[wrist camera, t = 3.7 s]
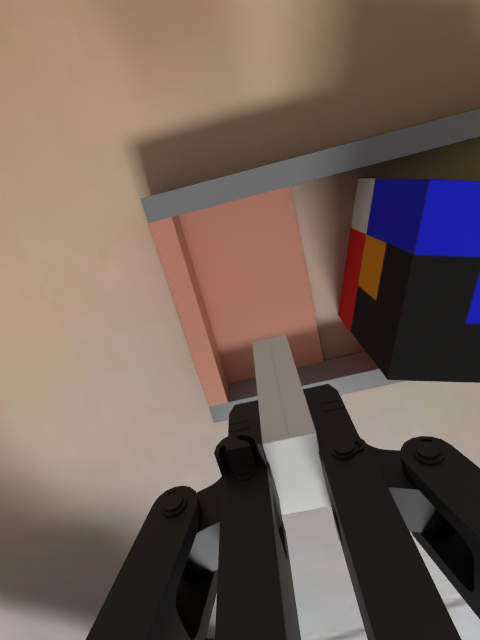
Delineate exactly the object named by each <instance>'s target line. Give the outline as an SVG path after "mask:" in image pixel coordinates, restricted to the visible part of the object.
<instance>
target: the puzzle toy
mask: <svg viewBox="0 0 480 640" xmlns="http://www.w3.org/2000/svg"><path fill="white" fill-rule="evenodd" d="M338 315H339V317H340V318H341V319H342V321H343V322H344V323H345V325H346V326H347V327H348V329H349V330H350V331H351V333H352V334H353V335H354V336H355V338H356V339H357V340H358V342H359V343H360V344H361V346H362V347H363V348H364V350H365V351H366V352H367V353H368V355H369V356H370V357H371V359H372V360H373V361H374V363H375V364H376V365H377V367H378V368H379V369H380V371H381V372H382V373H383V374H384V376H385V377H386V378H387V380H409V381H444V382H480V181H463V180H441V179H382V178H358V183H357V190H356V197H355V204H354V211H353V217H352V224H351V231H350V238H349V245H348V252H347V259H346V266H345V273H344V279H343V286H342V293H341V300H340V307H339V314H338Z"/></svg>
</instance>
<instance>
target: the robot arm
mask: <svg viewBox="0 0 480 640" xmlns="http://www.w3.org/2000/svg"><path fill="white" fill-rule="evenodd" d="M252 344H253V354H254V365H255V375H256V385H257V395H258V400H255V401H250V402H246V403H241V404H236V405H234V407H233V408H232V410H231V412H230V414H229V430H228V432H229V434H228V436H227V437H226V438H224V439H223V440H221V442H220V443H219V444H218V445H217V446H216V449H215V452H214V454H215V457H216V460H217V463H218V466H219V469H220V472H221V474H222V477H221V478H220V479H219V480H218V481H217V482H216V483H214V484H213V485H211V486H209V487H208V488H205V489H203V490H201V491H199V492H197V493H196V491H194V490H193V489H192V488H191V487H187V486H179V487H174V488H172V489H169V490H167V491H165V492H164V493H163V494H162V495H161V496H159V497H158V498H157V500H156V501H155V503H154V504H153V506H152V508H151V510H150V512H149V514H148V516H147V518H146V520H145V522H144V524H143V526H142V528H141V530H140V532H139V534H138V536H137V538H136V540H135V542H134V544H133V546H132V548H131V550H130V552H129V554H128V556H127V558H126V560H125V562H124V564H123V566H122V568H121V570H120V572H119V574H118V576H117V578H116V580H115V582H114V584H113V586H112V588H111V590H110V592H109V594H108V596H107V598H106V600H105V602H104V604H103V606H102V608H101V610H100V612H99V614H98V616H97V618H96V620H95V622H94V624H93V626H92V628H91V630H90V632H89V634H88V636H87V638H86V640H205V637H206V633H207V629H208V625H209V621H210V617H211V613H212V609H213V605H214V602H215V598H216V594H217V606H216V631H215V640H301V637H300V630H299V623H298V616H297V609H296V602H295V595H294V588H293V581H292V574H291V567H290V560H289V553H288V546H287V539H286V532H285V528H284V524H283V521H282V515H284V514H289V513H295V512H300V511H305V510H310V509H316V508H321V507H326V506H331V507H332V511H333V515H334V520H335V525H336V530H337V534H338V539H339V540H340V542H341V546H342V549H343V553H344V556H345V560H346V563H347V567H348V570H349V574H350V578H351V581H352V585H353V588H354V592H355V595H356V599H357V602H358V606H359V610H360V613H361V617H362V620H363V624H364V627H365V631H366V634H367V638H368V640H461V638H460V636H459V634H458V632H457V630H456V628H455V626H454V624H453V621H452V619H451V617H450V615H449V613H448V611H447V609H446V607H445V605H444V603H443V601H442V599H441V596H440V594H439V592H438V590H437V588H436V586H435V584H434V582H433V580H432V578H431V576H430V574H429V571H428V569H427V567H426V565H425V563H424V561H423V559H422V557H421V555H420V553H419V551H418V549H417V546H416V544H415V542H414V540H413V538H412V536H411V534H410V532H409V531H411V532H412V534H413V536H414V537H415V538H416V540H417V541H418V542H419V543H420V545H421V546H422V547H423V548H424V550H425V551H426V552H427V553H428V555H429V556H430V557H431V559H432V560H433V561H434V562H435V564H436V565H437V566H438V567H439V569H440V570H441V571H442V572H443V574H444V575H445V576H446V577H447V579H448V580H449V581H450V582H451V584H452V585H453V586H454V587H455V589H456V590H457V591H458V592H459V594H460V595H461V596H462V597H463V599H464V600H465V601H466V602H467V604H468V605H469V606H470V608H471V609H472V610H473V611H474V613H475V614H476V615H477V616H478V618H479V619H480V468H479V467H478V466H476V465H475V464H474V463H473V462H471V461H470V460H469V459H468V458H466V457H465V456H464V455H463V454H461V453H460V452H459V451H458V450H457V449H455V448H454V447H453V446H452V445H450V444H448V443H447V442H445V441H443V440H441V439H438V438H434V437H425V436H420V437H416V438H412V439H410V440H408V441H407V442H405V443H404V444H403V446H402V448H401V451H395V450H382V449H378V448H374V447H372V446H370V445H368V444H366V443H365V441H364V440H363V439H361V438H360V437H359V435H358V433H357V431H356V429H355V427H354V425H353V422H352V420H351V418H350V416H349V414H348V412H347V410H346V408H345V405H344V403H343V401H342V399H341V397H340V395H339V392H338V390H336V389H335V388H334V387H332V386H331V385H329V384H324V385H320V386H315V387H310V388H306V389H302V386H301V382H300V379H299V376H298V373H297V369H296V366H295V363H294V360H293V356H292V353H291V350H290V347H289V344H288V340H287V337H286V335H283V336H278V337H274V338H270V339H265V340H261V341H256V342H252ZM281 512H282V515H281Z"/></svg>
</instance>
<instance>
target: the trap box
mask: <svg viewBox="0 0 480 640" xmlns="http://www.w3.org/2000/svg"><path fill="white" fill-rule="evenodd" d="M476 137H480V108H479V109H475V110H472V111H468V112H464V113H460V114H457V115H453V116H449V117H445V118H442V119H438V120H434V121H430V122H427V123H423V124H419V125H415V126H412V127H408V128H404V129H400V130H397V131H393V132H389V133H385V134H382V135H378V136H374V137H370V138H367V139H363V140H359V141H355V142H352V143H348V144H344V145H340V146H337V147H333V148H329V149H325V150H322V151H318V152H314V153H310V154H307V155H303V156H299V157H295V158H292V159H288V160H284V161H280V162H276V163H273V164H269V165H265V166H261V167H258V168H254V169H250V170H246V171H243V172H239V173H235V174H231V175H228V176H224V177H220V178H216V179H213V180H209V181H205V182H201V183H198V184H194V185H190V186H186V187H183V188H179V189H175V190H171V191H168V192H164V193H160V194H156V195H153V196H149V197H145V198H141V201H142V205H143V208H144V211H145V214H146V217H147V220H148V223H149V226H150V229H151V232H152V235H153V238H154V241H155V244H156V247H157V250H158V253H159V256H160V259H161V262H162V266H163V269H164V272H165V275H166V278H167V281H168V284H169V287H170V290H171V293H172V296H173V299H174V302H175V305H176V308H177V311H178V314H179V317H180V320H181V323H182V327H183V330H184V333H185V336H186V339H187V342H188V345H189V348H190V351H191V354H192V357H193V360H194V363H195V366H196V369H197V372H198V375H199V378H200V381H201V384H202V388H203V391H204V394H205V397H206V400H207V403H208V406H209V409H210V412H211V415H212V418H213V421H214V423H215V422H220V421H224V420H229V414H230V412H231V410H232V408H233V407H234V405H236V404H241V403H246V402H250V401H255V400H258V395H257V385H256V375H255V365H254V354H253V344H252V342H256V341H261V340H265V339H270V338H274V337H278V336H283V335H286V337H287V340H288V344H289V347H290V350H291V353H292V356H293V360H294V363H295V366H296V369H297V373H298V376H299V379H300V382H301V386H302V389H306V388H310V387H315V386H320V385H324V384H329V385H331V386H332V387H334V388H335V389H336V390H338V392H339V395H343V394H348V393H352V392H357V391H361V390H366V389H371V388H375V387H380V386H384V385H389V384H393V383H398V382H403V381H407V380H387V378H386V377H385V376H384V374H383V373H382V372H381V371H380V369H379V368H378V367H377V365H376V364H375V363H374V361H373V360H372V359H371V357H370V356H369V355H368V353H367V352H366V351H364V352H360V353H355V354H351V355H346V356H342V357H338V358H333V359H329V360H323V355H322V349H321V344H320V339H319V333H318V328H317V323H316V317H315V312H314V307H313V301H312V296H311V291H310V285H309V280H308V275H307V269H306V264H305V258H304V253H303V248H302V242H301V237H300V232H299V226H298V221H297V216H296V210H295V205H294V200H293V194H292V189H291V186H292V185H296V184H300V183H304V182H308V181H312V180H315V179H319V178H323V177H327V176H331V175H335V174H338V173H342V172H346V171H350V170H354V169H358V168H361V167H365V166H369V165H373V164H377V163H380V162H384V161H388V160H392V159H396V158H400V157H403V156H407V155H411V154H415V153H419V152H423V151H426V150H430V149H434V148H438V147H442V146H446V145H449V144H453V143H457V142H461V141H465V140H469V139H472V138H476Z"/></svg>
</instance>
